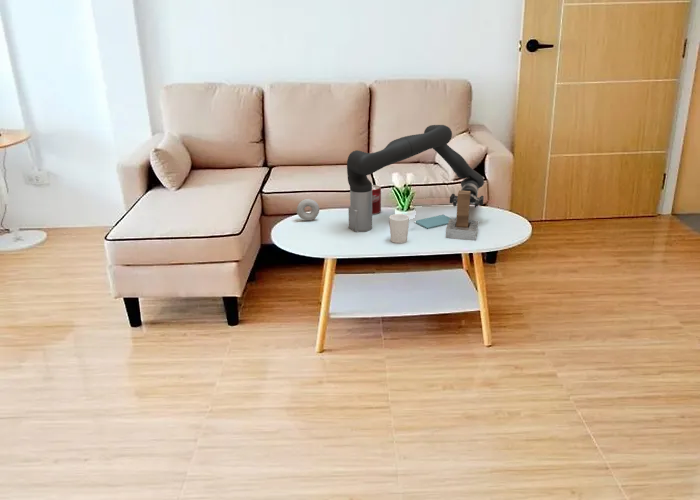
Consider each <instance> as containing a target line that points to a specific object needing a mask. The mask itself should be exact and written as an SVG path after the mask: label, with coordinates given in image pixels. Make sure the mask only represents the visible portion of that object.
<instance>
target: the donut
mask: <svg viewBox="0 0 700 500" xmlns="http://www.w3.org/2000/svg"><path fill="white" fill-rule="evenodd" d="M307 207H310V208H311V211H310V212H306V211H305V209H306V208H307ZM296 213H297V215H298V217H299V218H300V219H301V220H304V221H313V220H315V219H317V217H318V215H319V213H320V206H319V204H318V202H317V201H316V200H314V199H312V198H305V199H303V200H301V201H299V203H298V205H297V207H296Z"/></svg>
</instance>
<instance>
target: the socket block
mask: <svg viewBox="0 0 700 500" xmlns="http://www.w3.org/2000/svg"><path fill="white" fill-rule="evenodd" d="M456 221H457V218H456V219H455V218H452V219H450V220H449V222H448V225H446V227H445V239H456V240H466V241H468V240H469V241H476V238H477V234H478V231H479V220H472V219H471V220H470V219H469V226H468V228H464V227H456Z"/></svg>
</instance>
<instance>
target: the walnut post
mask: <svg viewBox="0 0 700 500" xmlns="http://www.w3.org/2000/svg"><path fill="white" fill-rule="evenodd" d="M470 192H471V191H461V190H458V192H457V196H458V200H457V204H456V219H457V221H456V227H464V228H468V226H469V220H470V207H471V206H470V205H471V204H470Z"/></svg>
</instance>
